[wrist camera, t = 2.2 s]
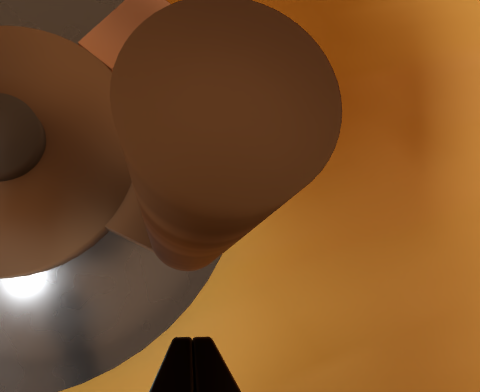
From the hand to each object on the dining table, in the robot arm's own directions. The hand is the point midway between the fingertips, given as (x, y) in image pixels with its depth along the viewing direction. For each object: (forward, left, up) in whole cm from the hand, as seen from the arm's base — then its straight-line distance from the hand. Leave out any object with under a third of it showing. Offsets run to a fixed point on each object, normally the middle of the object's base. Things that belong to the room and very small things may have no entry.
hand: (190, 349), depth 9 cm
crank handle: (+6, +6, -6) cm, 10 cm away
